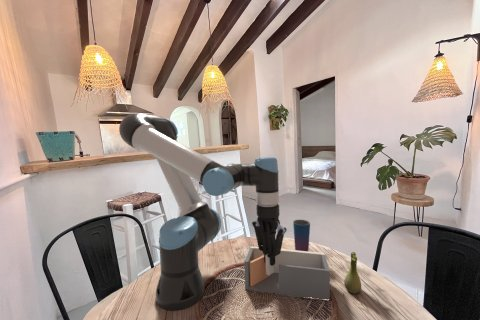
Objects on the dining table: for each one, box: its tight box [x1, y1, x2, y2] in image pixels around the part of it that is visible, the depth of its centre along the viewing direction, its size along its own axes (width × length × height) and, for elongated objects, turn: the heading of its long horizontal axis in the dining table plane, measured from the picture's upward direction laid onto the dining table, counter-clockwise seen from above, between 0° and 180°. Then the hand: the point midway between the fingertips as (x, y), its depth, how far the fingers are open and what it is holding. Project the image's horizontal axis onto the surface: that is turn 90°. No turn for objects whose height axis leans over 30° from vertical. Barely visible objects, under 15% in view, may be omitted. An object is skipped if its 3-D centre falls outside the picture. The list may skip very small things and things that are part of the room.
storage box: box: [244, 246, 331, 299], centre depth 72 cm, size 26×11×10 cm, turn 76°
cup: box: [292, 219, 311, 252], centre depth 89 cm, size 7×7×15 cm
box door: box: [250, 255, 270, 286], centre depth 72 cm, size 9×1×8 cm, turn 130°
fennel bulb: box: [343, 251, 362, 294], centre depth 68 cm, size 6×5×12 cm
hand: (270, 273), depth 71 cm, fingers closed
